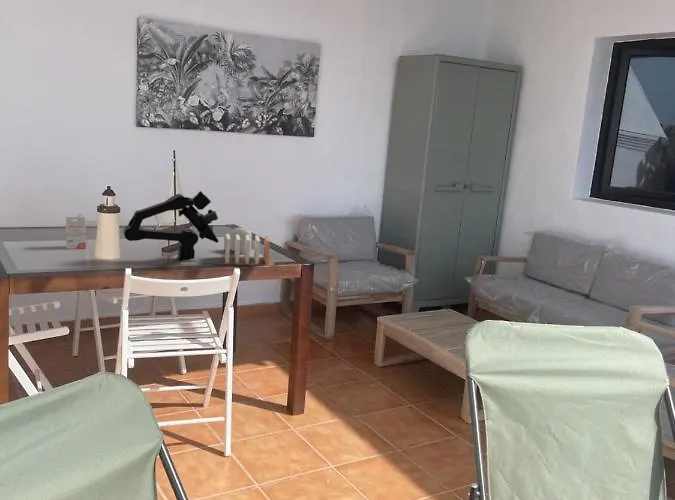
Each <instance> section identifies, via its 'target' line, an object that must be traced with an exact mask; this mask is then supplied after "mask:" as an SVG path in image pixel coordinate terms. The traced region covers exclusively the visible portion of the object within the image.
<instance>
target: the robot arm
mask: <svg viewBox="0 0 675 500" xmlns="http://www.w3.org/2000/svg"><path fill="white" fill-rule="evenodd" d="M210 203H212V201H211V200H210V198H208V196H207V195H206V194H204V193H203V192H202V191H201V190H199V191H198V193H197V194H196V195H195V196H193V197H186V196H184V195H183V194H181V193H177V194H175V195H173V196H171V197H169V198H168V199H166V200H165V201H162V202H160V203H156V204H153V205H151V206H147V207H145V208H142V209H139V210H135V212H134V213H133V215H132V217H131V219H130V220H129V222H128V225H125V227H124V228H123V230H122V231H123V232H122V233H123V236H124V238H125V240H127V241H129V242H136V241H141V240H156V241H159V240H160V241H171V242H173V241H174V242H178V244H179V245H178V246H177V247H178V248H177V256H176V259H177V260H178V261H179V262H183V261H190V260H193V259H195V253H196V251H195V247H194V246H195V245H196V244H197V243H198V242H199V238H200V239H201V240H203V239H206V240H207V239H208V240H209V241H211V242H214V243H219V239H218V237H217V235H216V234H215V232H214V227H213V226H214V225H213V224H212V223H213V221H217V220H218V219H219V217H218V214H217V211H215V210H212V209H208V210H207V213H206V214H203V213H200V212H199V211H203V210H204V209H205V208H206V207H207V206H208V205H210ZM170 211H178V217H182V215H183V216H184V217H185V218H186V219H187V220H188V221H189V222H190V224H191V226H193V227H195V229H196V230H197V232H198V234H197V233H196V232H195V230H193V229H191V228H190V227H188V228H185V227H181V230H178V231H175V230H172V231H171V230H159V229H148V228H143V227H141V225H142V223H143V220H145V219H148V218H151V217H154V216H157V215H159V214H163V213H165V212H170ZM209 224H211V225H209Z"/></svg>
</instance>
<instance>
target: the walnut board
mask: <svg viewBox="0 0 675 500" xmlns="http://www.w3.org/2000/svg"><path fill="white" fill-rule="evenodd" d="M234 256H235V255H229V263H225V255H221V264H222V265H237V266H238V265H240V266H244V265H245V266H260V267H261V266H265V267H267V266H268V267H276V265H275V260H274V259H273V257H269V263H268V264H265V262H264V259H263V256H259V264H255V261H254V256H249V264H245V259H244V255H241V256H240V255H239V263H235V258H234Z"/></svg>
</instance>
